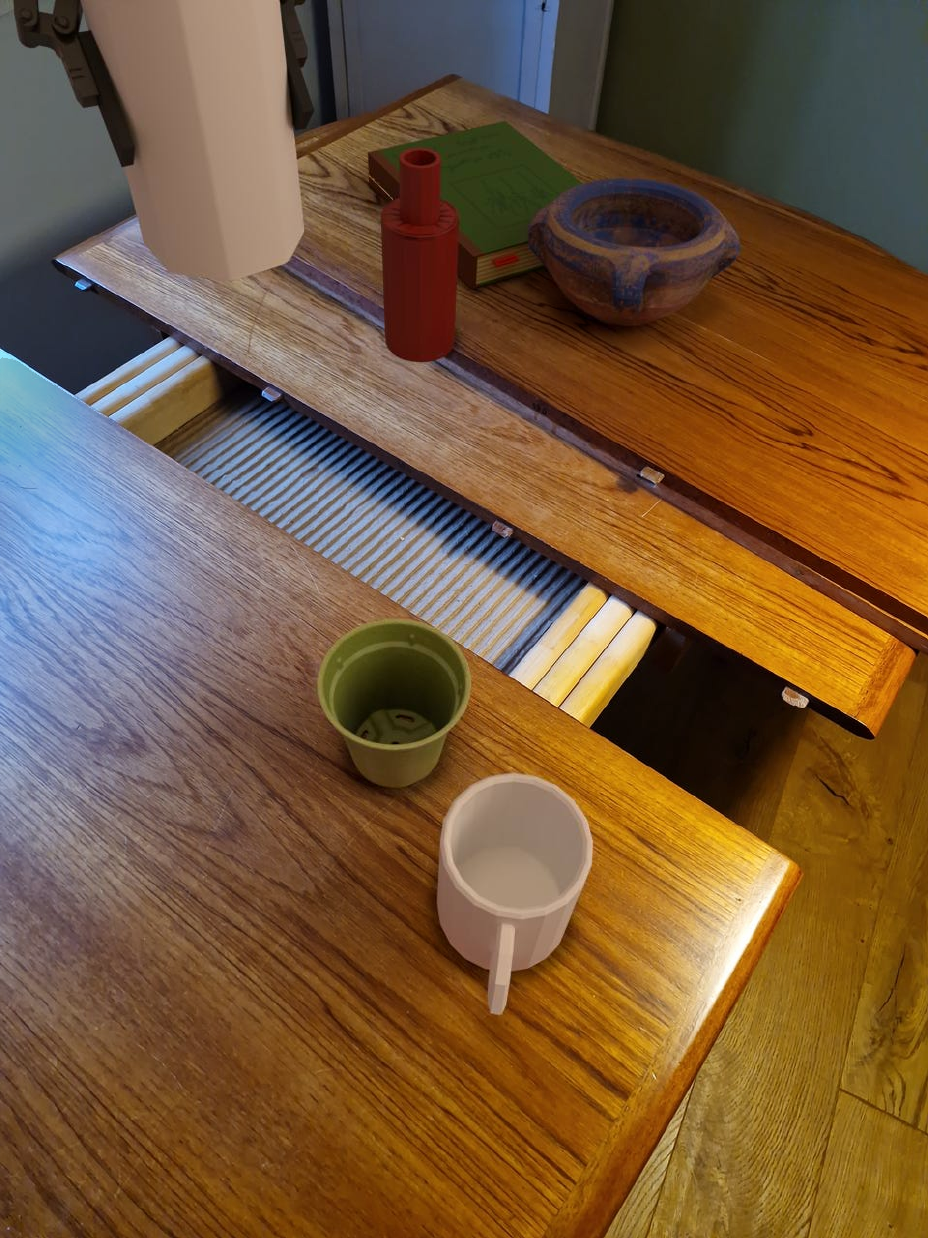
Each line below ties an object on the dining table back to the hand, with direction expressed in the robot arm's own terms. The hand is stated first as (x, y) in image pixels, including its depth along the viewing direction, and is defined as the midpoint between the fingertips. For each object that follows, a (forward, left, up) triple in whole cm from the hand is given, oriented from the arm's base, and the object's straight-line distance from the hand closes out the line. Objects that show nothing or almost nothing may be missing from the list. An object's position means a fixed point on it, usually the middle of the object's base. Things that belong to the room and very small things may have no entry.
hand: (219, 138), depth 56 cm
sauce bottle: (+9, +20, -27) cm, 35 cm away
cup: (-2, +2, -8) cm, 9 cm away
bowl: (+28, +32, -28) cm, 50 cm away
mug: (+25, -36, -28) cm, 52 cm away
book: (+12, +45, -28) cm, 54 cm away
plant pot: (+17, -25, -28) cm, 41 cm away
